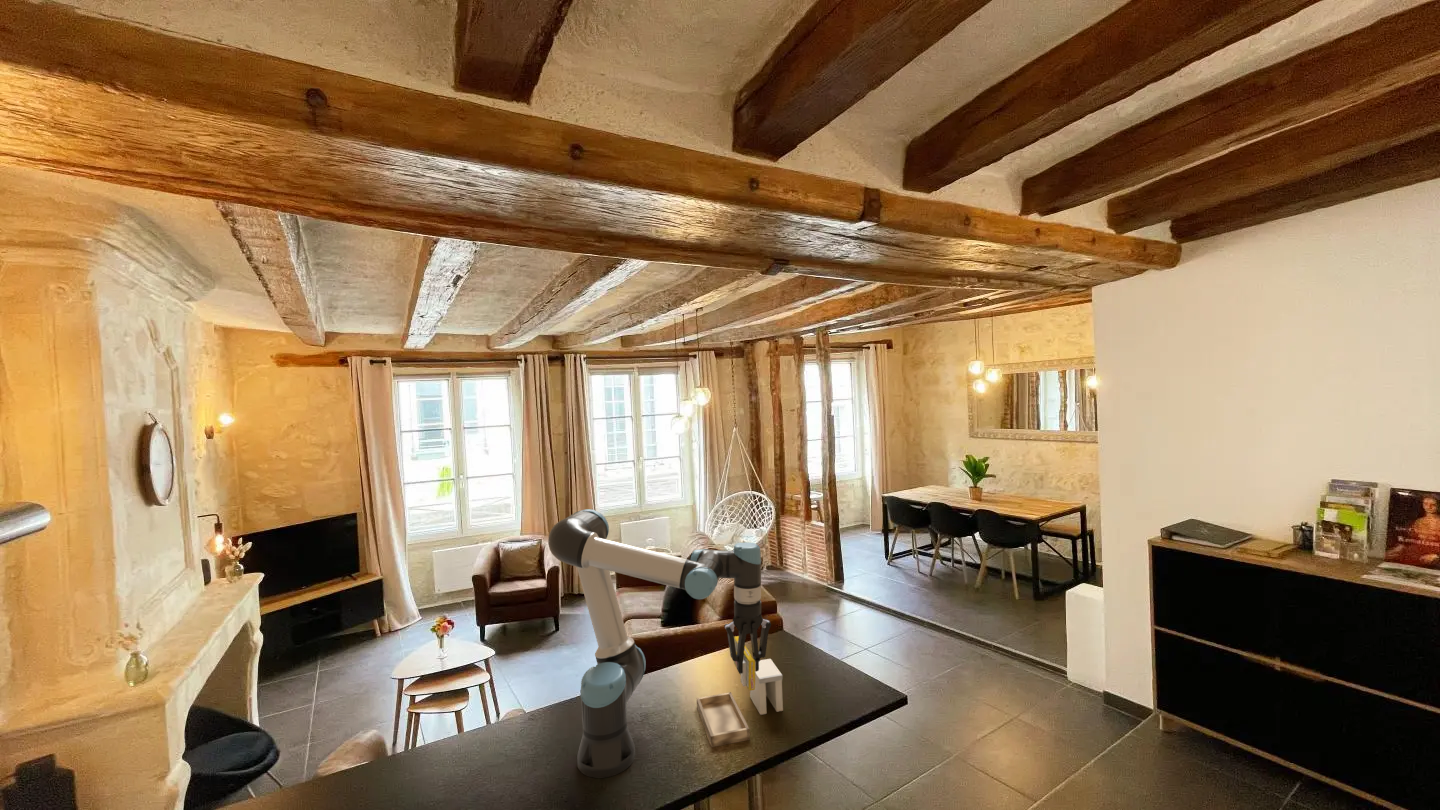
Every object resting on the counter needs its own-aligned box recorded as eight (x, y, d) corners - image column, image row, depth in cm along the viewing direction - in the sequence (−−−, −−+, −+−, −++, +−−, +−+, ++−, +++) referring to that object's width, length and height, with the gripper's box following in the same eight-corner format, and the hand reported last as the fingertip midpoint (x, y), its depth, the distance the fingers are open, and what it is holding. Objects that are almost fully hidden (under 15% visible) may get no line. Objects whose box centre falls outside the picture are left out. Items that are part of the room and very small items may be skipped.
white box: (761, 716, 166) (759, 679, 166) (750, 697, 177) (748, 662, 177) (783, 712, 168) (782, 675, 168) (771, 693, 179) (770, 658, 178)
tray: (711, 747, 153) (711, 736, 153) (696, 707, 172) (696, 698, 172) (749, 739, 155) (749, 729, 155) (731, 701, 175) (730, 692, 175)
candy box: (756, 690, 153) (755, 660, 152) (748, 691, 152) (747, 661, 152) (740, 662, 168) (739, 635, 168) (733, 663, 168) (732, 636, 168)
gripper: (724, 607, 150) (725, 693, 150) (778, 602, 153) (778, 686, 154) (718, 597, 157) (718, 679, 158) (769, 592, 161) (769, 673, 161)
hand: (748, 682), depth 156 cm, fingers closed on candy box, 2 cm apart
